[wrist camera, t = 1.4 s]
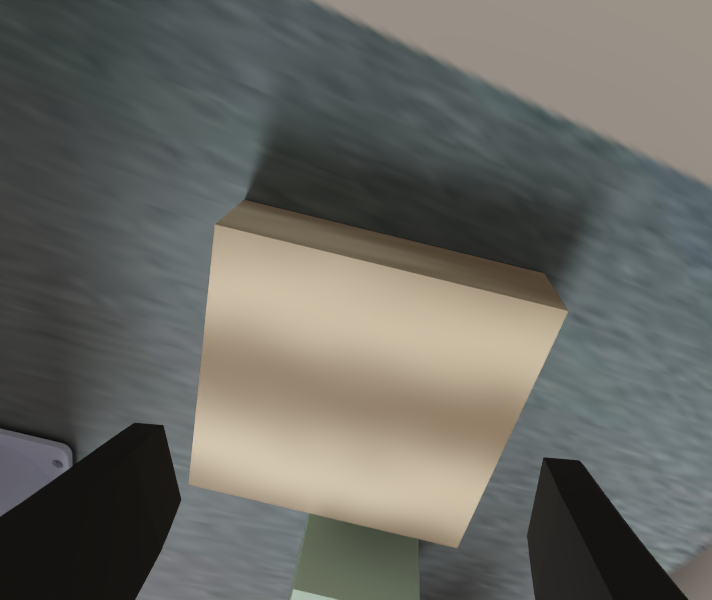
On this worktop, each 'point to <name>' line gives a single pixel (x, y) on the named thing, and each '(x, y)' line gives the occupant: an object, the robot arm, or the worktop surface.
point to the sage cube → (354, 563)
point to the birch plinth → (362, 371)
